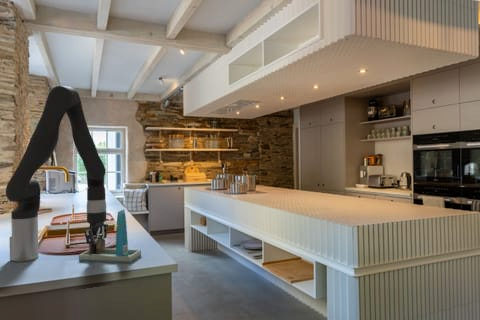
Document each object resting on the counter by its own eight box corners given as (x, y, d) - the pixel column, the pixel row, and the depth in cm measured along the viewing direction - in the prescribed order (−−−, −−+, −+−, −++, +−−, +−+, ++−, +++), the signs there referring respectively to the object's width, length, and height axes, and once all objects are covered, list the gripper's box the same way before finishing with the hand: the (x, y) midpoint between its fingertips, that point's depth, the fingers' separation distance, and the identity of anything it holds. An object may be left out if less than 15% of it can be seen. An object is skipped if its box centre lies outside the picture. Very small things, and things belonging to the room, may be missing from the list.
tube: (118, 254, 144) (117, 209, 143) (130, 254, 144) (129, 208, 144) (113, 259, 136) (112, 212, 136) (125, 259, 137) (125, 211, 136)
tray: (78, 261, 138) (78, 254, 138) (92, 253, 147) (92, 248, 147) (130, 263, 134) (130, 257, 134) (141, 255, 144) (141, 249, 144)
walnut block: (99, 254, 139) (99, 242, 139) (89, 254, 140) (89, 242, 140) (105, 251, 143) (105, 239, 143) (95, 251, 144) (95, 239, 144)
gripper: (95, 213, 134) (95, 257, 134) (113, 207, 148) (114, 247, 148) (77, 213, 135) (78, 256, 135) (97, 207, 149) (98, 246, 149)
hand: (97, 251), depth 142 cm, fingers closed on walnut block, 4 cm apart
